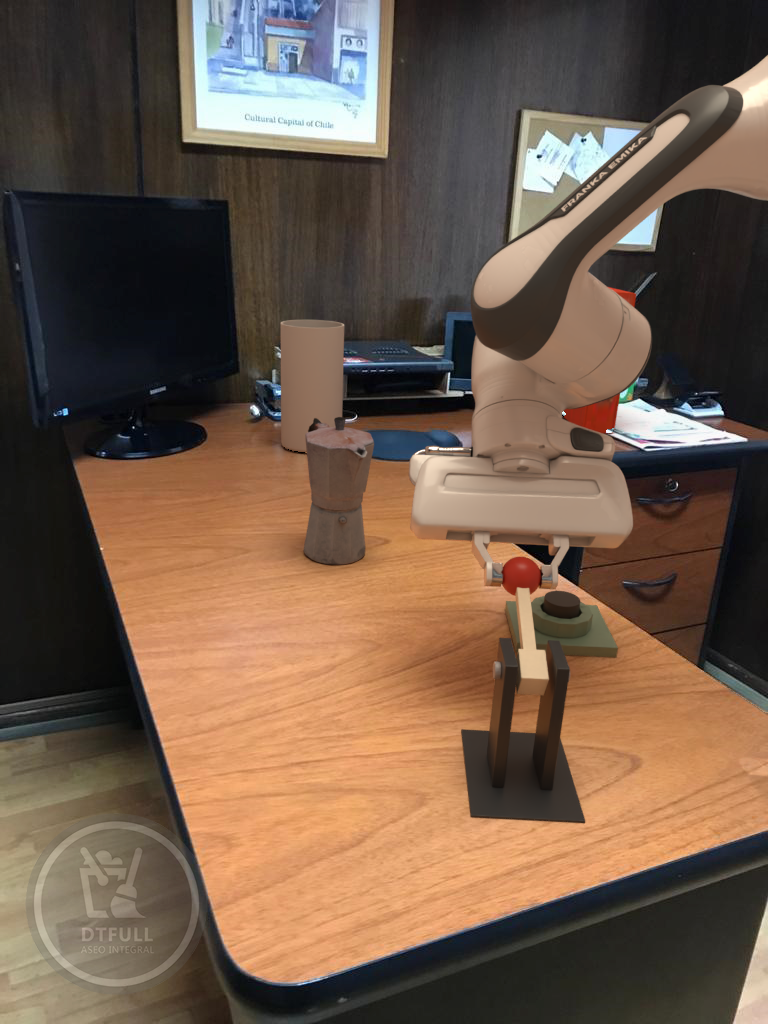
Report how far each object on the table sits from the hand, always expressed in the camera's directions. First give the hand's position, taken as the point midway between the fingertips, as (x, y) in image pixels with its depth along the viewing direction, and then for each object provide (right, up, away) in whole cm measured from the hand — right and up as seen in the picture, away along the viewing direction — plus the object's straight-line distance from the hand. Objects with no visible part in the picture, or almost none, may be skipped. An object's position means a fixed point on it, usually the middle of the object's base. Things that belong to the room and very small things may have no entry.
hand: (521, 586), depth 69 cm
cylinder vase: (-27, +20, +92) cm, 98 cm away
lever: (0, -4, -2) cm, 4 cm away
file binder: (+37, +28, +120) cm, 129 cm away
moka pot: (-20, +1, +41) cm, 46 cm away
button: (+8, -5, +19) cm, 21 cm away
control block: (+8, -8, +21) cm, 23 cm away
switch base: (-1, -17, -3) cm, 17 cm away
